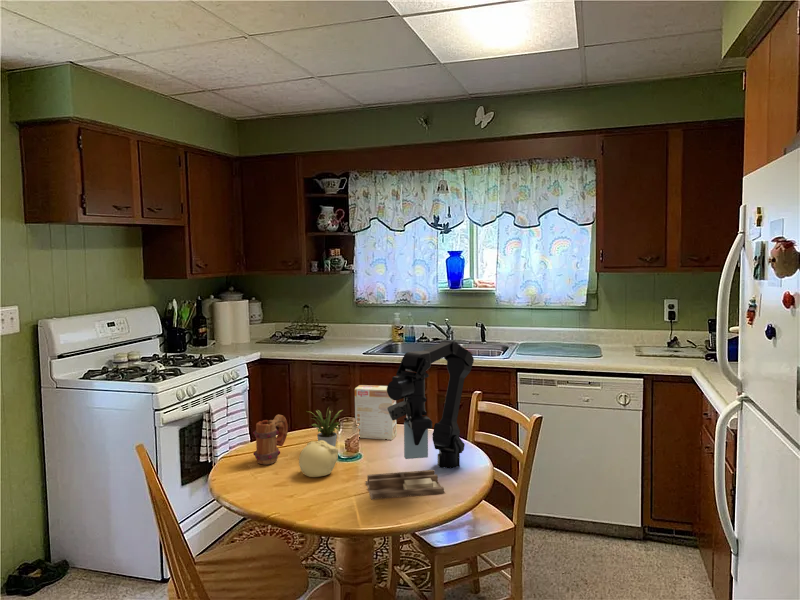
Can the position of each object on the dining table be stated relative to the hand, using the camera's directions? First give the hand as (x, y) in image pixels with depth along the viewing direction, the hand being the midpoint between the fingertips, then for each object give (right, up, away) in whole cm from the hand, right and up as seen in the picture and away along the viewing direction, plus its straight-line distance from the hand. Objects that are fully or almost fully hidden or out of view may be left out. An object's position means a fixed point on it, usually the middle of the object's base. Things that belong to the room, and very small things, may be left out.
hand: (415, 443), depth 187 cm
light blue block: (0, -4, 0) cm, 4 cm away
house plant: (-32, -11, +33) cm, 47 cm away
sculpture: (-32, -13, +12) cm, 36 cm away
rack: (-4, -13, -2) cm, 14 cm away
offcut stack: (+1, -13, -4) cm, 13 cm away
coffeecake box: (-14, -9, +50) cm, 53 cm away
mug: (-49, -12, +25) cm, 56 cm away
